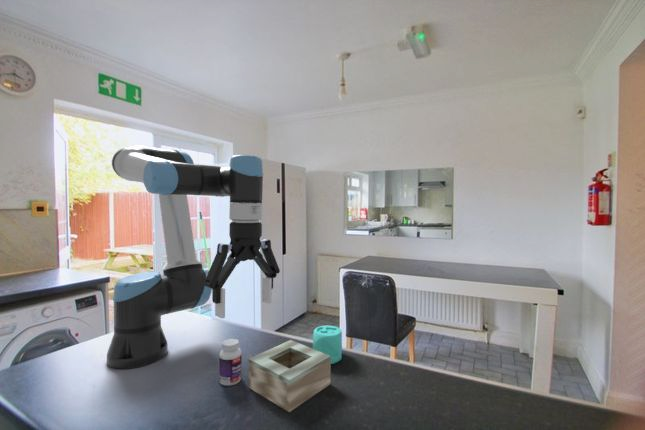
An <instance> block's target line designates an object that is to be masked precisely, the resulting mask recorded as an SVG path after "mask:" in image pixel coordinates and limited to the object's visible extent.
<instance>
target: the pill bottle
mask: <svg viewBox="0 0 645 430" xmlns="http://www.w3.org/2000/svg"><path fill="white" fill-rule="evenodd" d="M239 346H240V341H239V339H236V338H228V339H225V340H223V342H221V347H222V349H221V350H220V352H219V354H218V356H219V358H218V359H219V360H218V361H219V362H218V364H219V365H218V366H219V367H218V368H219V372H218V381H219V383H220V385H222V386H228V387H229V386H233V385H234V386H235V385H237V384H239V383H240V381H242V364H243V363H242V355H243V353H242V350H241V348H240V347H239Z"/></svg>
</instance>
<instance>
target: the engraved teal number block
mask: <svg viewBox="0 0 645 430" xmlns="http://www.w3.org/2000/svg"><path fill="white" fill-rule="evenodd" d="M312 335H313V337H312V349H314V350H317V351H319V352H322V353H324V354H327V355H329V356H331V365H333V364H336V363H339V362H340V361H341V360H342V358H343V357H342V356H343V354H342V353H343V344H342V343H343V341H342V340H343V336H342V335H343V331H342V329H341V328H340V327H339V326H334V325H327V324H326V325H320V326H317V327H316V328H314V330H313V334H312Z"/></svg>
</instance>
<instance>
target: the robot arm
mask: <svg viewBox="0 0 645 430" xmlns="http://www.w3.org/2000/svg"><path fill="white" fill-rule="evenodd" d="M111 166H112V170H113V171H114V173H115V174H116V175H117V176H118V177H120V178H121V179H124V180H126V181H129V182H136V183H137V182H139V183H142V184H143V185H144V187H145V190H146V191H147V192H148V193H150V194H152V195H153V194H154V195H158V198H159V205H160V214H161V222H162V231H163V238H164V246H165V255H166V260H167V264H166V266H165V267H164V268H163V269H162V273H163V274H161V273H160V272H159V271H143V272H137V273H134V274H130V275H127V276H125V277H122V278H121V279H119V280H118V281H117V282H116V283H115V284H114V287H113V297H112V301H113V335H112V339H111V341H110V343H109V347H108V349H107V353H106V365H107V366H108V367H110V368H112V369H119V370H120V369H121V370H123V369H126V370H127V369H135V368H139V367H144V366H147V365H149V364H152V363H155V362H156V361H159V360H161V359H162V358H163V357H165V355H166V354H168V352H169V351H168V350H169V349H168V340H167V338H166V335H165V333H164V330H163V328H162V321H161V320H162V316H164V315H169V314H173V313H177V312H182V311H185V310H190V309H191V310H192V309H195V308H198V307H201V306H204V305H205V304H207V303H208V301H209V300H210V297H211V296H212V303H213V304H215V305H214V307H215V308H214V310H215V311H214V312H215V313H214V316H215V317H217V318H219V319H225V318H226V288H224V285H225V283H226V281H227V280H228V279H229V277H230V276H231V274H233V271H234V270H235V268H236V266H237V265H239V264H240V263H241V262H246V261H248V260H249V261H251V260H252V261H254V262H255V263H256V265H257V266H258V267H259V268H260V270H261V271H262V273H263V274H264V275H265V276H262V278H261V279H262V283H261V285H262V287H261V290H262V291H261V302H262V303H265V304H267V305H268V304H269V305H270V304H272V290H273V289H274V278H275V279H276V277H277V275H278V274H280V272H281V271H280V270H281V269H280V267H279V264H278V263H277V260H276V257H275V254H274V252H273V250H272V242H271V240H270V239H266V238H262V236H263V234H262V233H263V231H262V230H263V223H262V222H261V220H262V219H263V181H264V180H263V179H264V171H263V160H262V159H261V157H259V156H255V155H249V154H236V155H233V156H231V158H230V162H229V165H228V166H217V165H209V164H208V165H207V164H199V163H198V164H197V163H196V164H195V163H194V160H193V158H192V157H191V156H190V154H188V153H187V152H185V151H182V150H177V149H166V148H157V147H149V146H145V145H132V146H126V147H123V148H121V149H119V150H118V151H116V152H115V153H114V154H113V157H112V158H111ZM188 196H206V197H207V196H209V197H210V196H211V197H220V198H221V197H222V198H223V197H229V217H228V218H229V220H230V221H231V222H230V223H229V232H228V233H229V235H228V236H229V238H230V242H229V243H227V244H226V243H221V242H219V243H218V244H217V248H216V254H215V257H214V259H213V261H212V264H211V265H210V268H209V270H208V269H206V268H203V264H202V262H201V261H200V260H198V259H197V254H196V249H195V242H194V235H193V228H192V221H191V214H190V207H189V200H188ZM261 238H262V239H261ZM260 249H261V251H260ZM261 252H262V253H263V254H262V253H261ZM228 254H229V255H228Z"/></svg>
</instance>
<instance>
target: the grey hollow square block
mask: <svg viewBox="0 0 645 430" xmlns="http://www.w3.org/2000/svg"><path fill="white" fill-rule="evenodd" d="M331 365H332V364H331V356H329V355H327V354H324V353H322V352H319V351H317V350H314V349H313V347H309V346H307V345H304V344H302V343H299V342H297V341H294V340H292V339H290V340H287V341H285V342H283V343H281V344H279V345H277V346H275V347H271V348H270V349H267V350H265V351H263V352H260V353H259V354H256V355H254V356H252V357H250V358H248V388H249V389H250V390H252V392H255V393H256V394H258V395H260V396H262V397H263V398H265V399H267V400H268V401H270V402H271V403H273V404H275V405H276V406H278V407H279V408H281V409H283V410H284V411H286V412H287V413H291V412H292V411H294V410H296V409H297V408H298V407H299V406H301V405H303V404H304V403H305V402H306V401H308V400H310V399H311V398H312V397H314V396H315V395H316V394H318V393H320V392H321V391H323V390H324V389H325V388H327V387H329V386H330V385H331V374H332V373H331V371H332V370H331V369H332V368H331V367H332V366H331Z"/></svg>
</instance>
